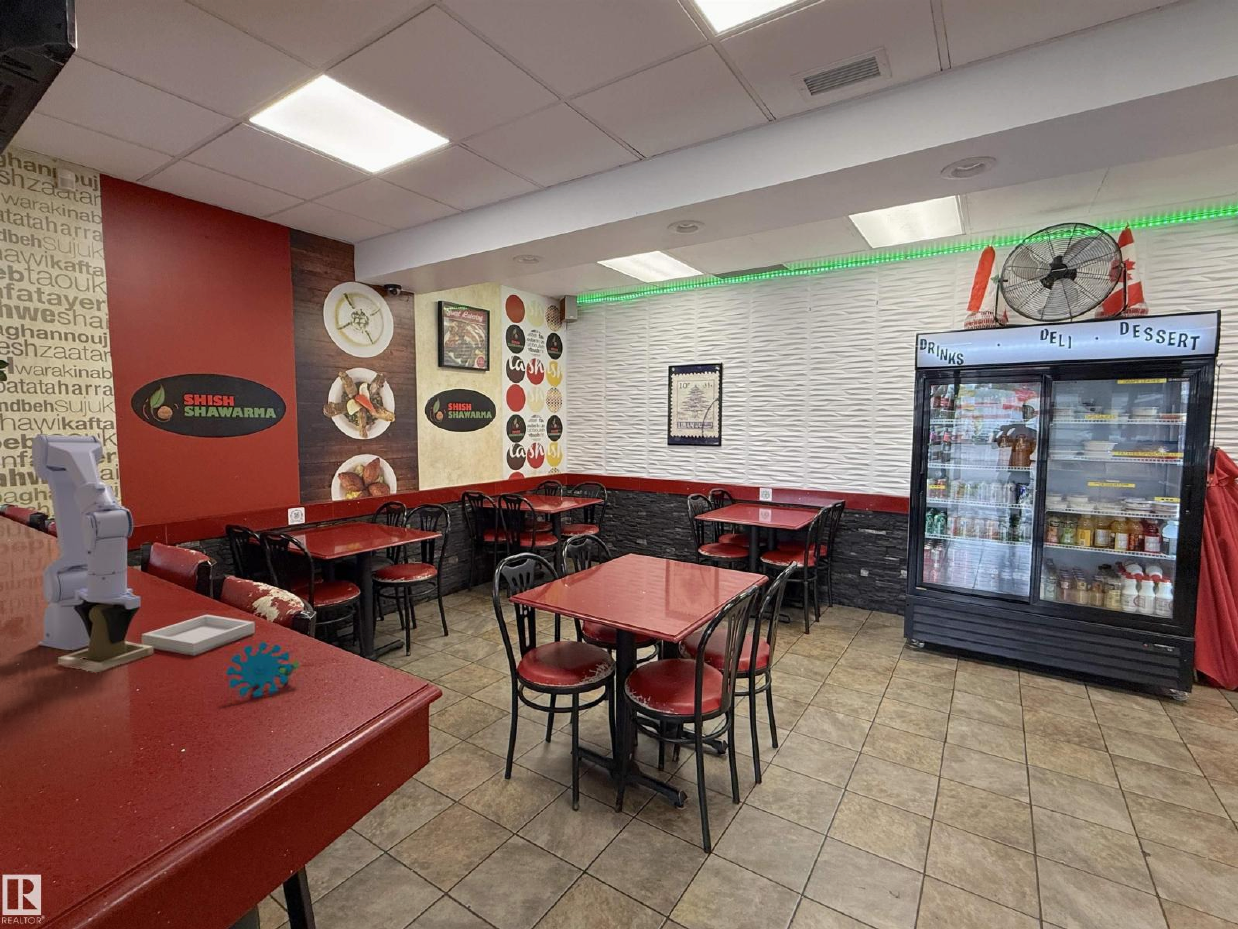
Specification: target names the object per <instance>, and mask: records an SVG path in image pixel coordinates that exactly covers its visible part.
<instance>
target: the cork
mask: <svg viewBox="0 0 1238 929" xmlns="http://www.w3.org/2000/svg"><path fill="white" fill-rule="evenodd" d="M111 607H113V605H110V604H99V605H96V606H94V607H93V608H92V609H91V610H90V612H89V618H90V620H91V621H92V622H93V625H92V631H91V637H90V642H89V646H88V648H87V649H88V654H87V658H86V659H85V660H88V661H93V662H98V663H99V662H102V661H105V660H108V659H111V658H114V657H117V656H120V655H123V654H126V653H128V652H127V649H126V643H125V641H126V639H125V640H124V641H121V642H117V643H114V644H112V643H110V640H109V634H108V626H107V623H106V620H105V618H104V616H103V615H102V613H101V610H103V609H107V608H111Z"/></svg>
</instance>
